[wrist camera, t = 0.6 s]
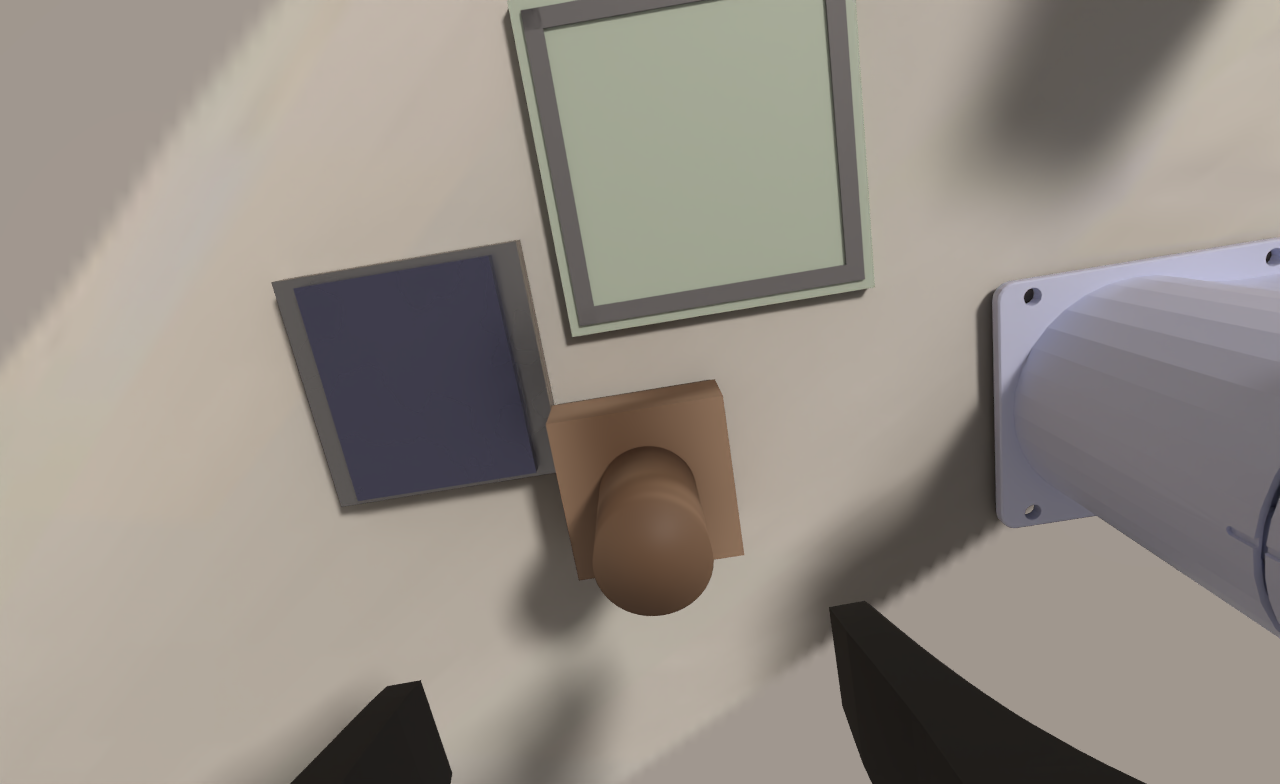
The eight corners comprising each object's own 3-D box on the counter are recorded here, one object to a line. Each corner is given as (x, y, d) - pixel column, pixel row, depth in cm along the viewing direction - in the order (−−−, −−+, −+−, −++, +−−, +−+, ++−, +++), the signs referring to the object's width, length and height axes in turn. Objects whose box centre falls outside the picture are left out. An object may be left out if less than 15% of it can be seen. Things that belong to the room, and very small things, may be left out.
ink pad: (520, 239, 19) (513, 241, 18) (565, 461, 21) (562, 476, 20) (285, 279, 20) (263, 284, 19) (351, 495, 22) (336, 512, 20)
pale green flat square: (846, -56, 18) (853, -62, 17) (870, 285, 20) (876, 287, 20) (509, 4, 18) (506, -1, 17) (573, 334, 20) (572, 337, 20)
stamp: (712, 375, 21) (747, 446, 15) (732, 519, 22) (772, 638, 16) (554, 401, 21) (524, 481, 15) (583, 542, 22) (567, 669, 16)
